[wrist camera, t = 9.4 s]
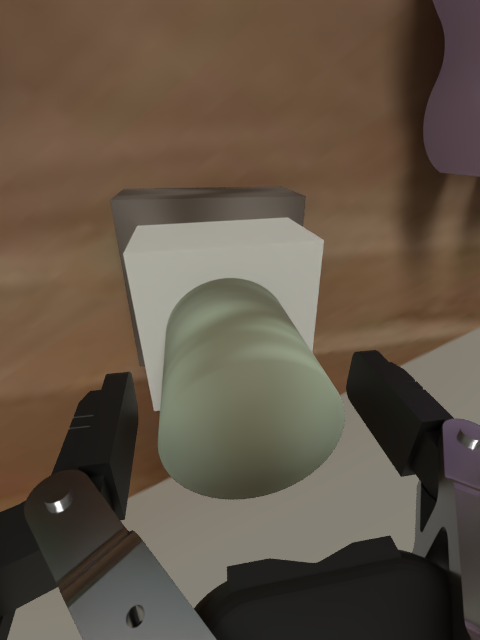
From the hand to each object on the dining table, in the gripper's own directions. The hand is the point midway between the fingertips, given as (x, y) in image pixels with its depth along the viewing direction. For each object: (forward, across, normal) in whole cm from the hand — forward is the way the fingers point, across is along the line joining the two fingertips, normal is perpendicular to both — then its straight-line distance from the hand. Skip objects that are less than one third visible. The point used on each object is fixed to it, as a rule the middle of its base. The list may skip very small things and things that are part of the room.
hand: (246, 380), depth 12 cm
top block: (+8, 0, 0) cm, 9 cm away
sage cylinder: (+3, 0, 0) cm, 3 cm away
